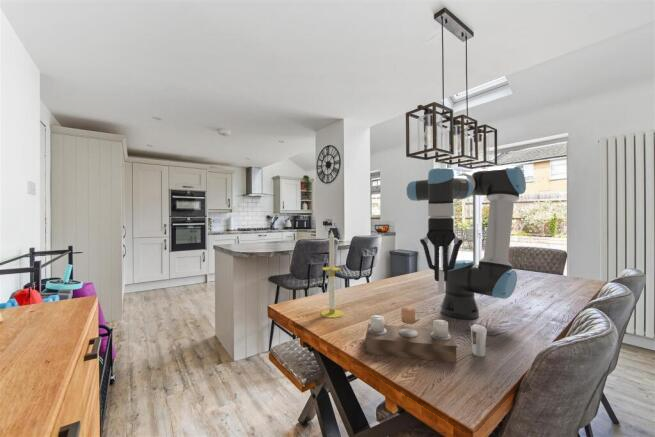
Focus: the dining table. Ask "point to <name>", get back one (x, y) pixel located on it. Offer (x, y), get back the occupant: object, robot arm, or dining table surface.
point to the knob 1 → (377, 323)
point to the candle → (331, 282)
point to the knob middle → (408, 315)
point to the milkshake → (478, 339)
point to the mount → (410, 343)
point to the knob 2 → (440, 328)
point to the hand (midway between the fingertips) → (440, 290)
